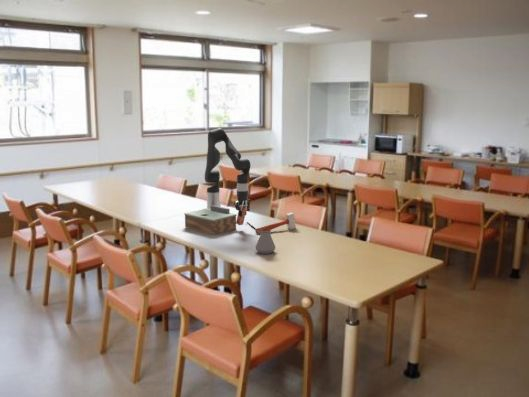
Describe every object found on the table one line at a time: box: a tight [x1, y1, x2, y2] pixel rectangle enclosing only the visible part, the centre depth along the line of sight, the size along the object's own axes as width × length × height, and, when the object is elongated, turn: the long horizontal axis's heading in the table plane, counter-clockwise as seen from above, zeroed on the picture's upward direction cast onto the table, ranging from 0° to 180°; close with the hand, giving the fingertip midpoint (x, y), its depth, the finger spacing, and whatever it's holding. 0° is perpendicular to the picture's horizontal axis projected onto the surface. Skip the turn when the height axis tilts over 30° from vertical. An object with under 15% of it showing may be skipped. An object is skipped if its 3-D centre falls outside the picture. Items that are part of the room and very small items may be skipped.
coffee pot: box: [244, 221, 276, 255], centre depth 304 cm, size 21×12×15 cm, turn 46°
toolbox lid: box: [183, 205, 238, 221], centre depth 351 cm, size 21×28×4 cm
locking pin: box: [236, 206, 248, 226], centre depth 347 cm, size 3×3×12 cm
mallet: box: [254, 212, 297, 235], centre depth 347 cm, size 11×4×30 cm
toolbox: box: [184, 215, 237, 236], centre depth 352 cm, size 20×28×9 cm
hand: (242, 215), depth 346 cm, fingers closed on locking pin, 3 cm apart
